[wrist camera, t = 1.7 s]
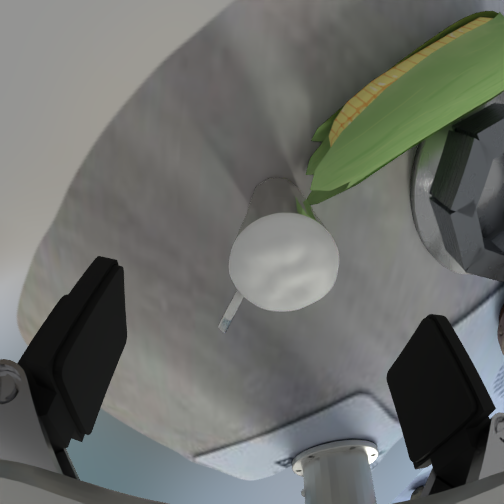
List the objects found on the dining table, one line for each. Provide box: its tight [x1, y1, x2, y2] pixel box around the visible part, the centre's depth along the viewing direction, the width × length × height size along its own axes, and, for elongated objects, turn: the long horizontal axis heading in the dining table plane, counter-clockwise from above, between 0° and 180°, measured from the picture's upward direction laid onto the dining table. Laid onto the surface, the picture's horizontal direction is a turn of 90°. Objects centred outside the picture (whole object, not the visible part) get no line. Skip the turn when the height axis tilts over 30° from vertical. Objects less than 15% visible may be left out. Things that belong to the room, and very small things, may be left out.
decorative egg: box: [410, 486, 425, 500], centre depth 47 cm, size 6×6×10 cm
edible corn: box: [306, 11, 504, 205], centre depth 14 cm, size 5×20×5 cm
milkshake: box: [218, 178, 339, 333], centre depth 16 cm, size 5×5×10 cm
